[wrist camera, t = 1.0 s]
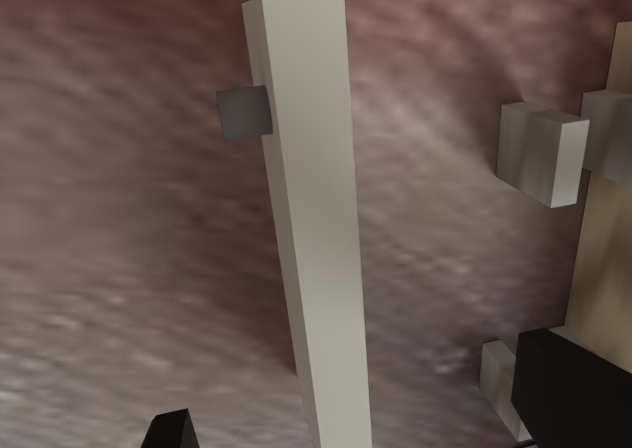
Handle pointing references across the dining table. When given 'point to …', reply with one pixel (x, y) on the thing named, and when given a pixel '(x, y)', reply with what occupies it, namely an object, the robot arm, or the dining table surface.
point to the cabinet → (598, 221)
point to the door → (310, 200)
